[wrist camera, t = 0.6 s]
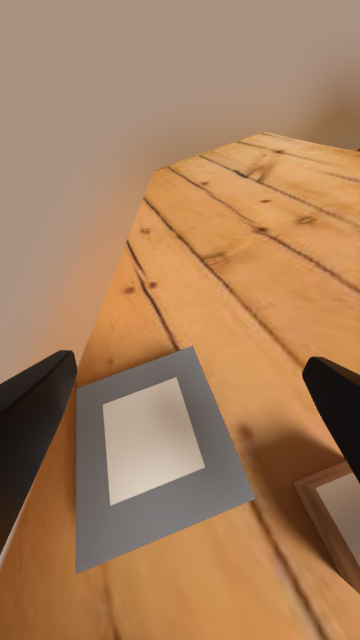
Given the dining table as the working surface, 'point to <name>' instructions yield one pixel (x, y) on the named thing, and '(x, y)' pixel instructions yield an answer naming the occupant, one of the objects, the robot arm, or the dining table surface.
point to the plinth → (150, 458)
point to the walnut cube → (335, 516)
